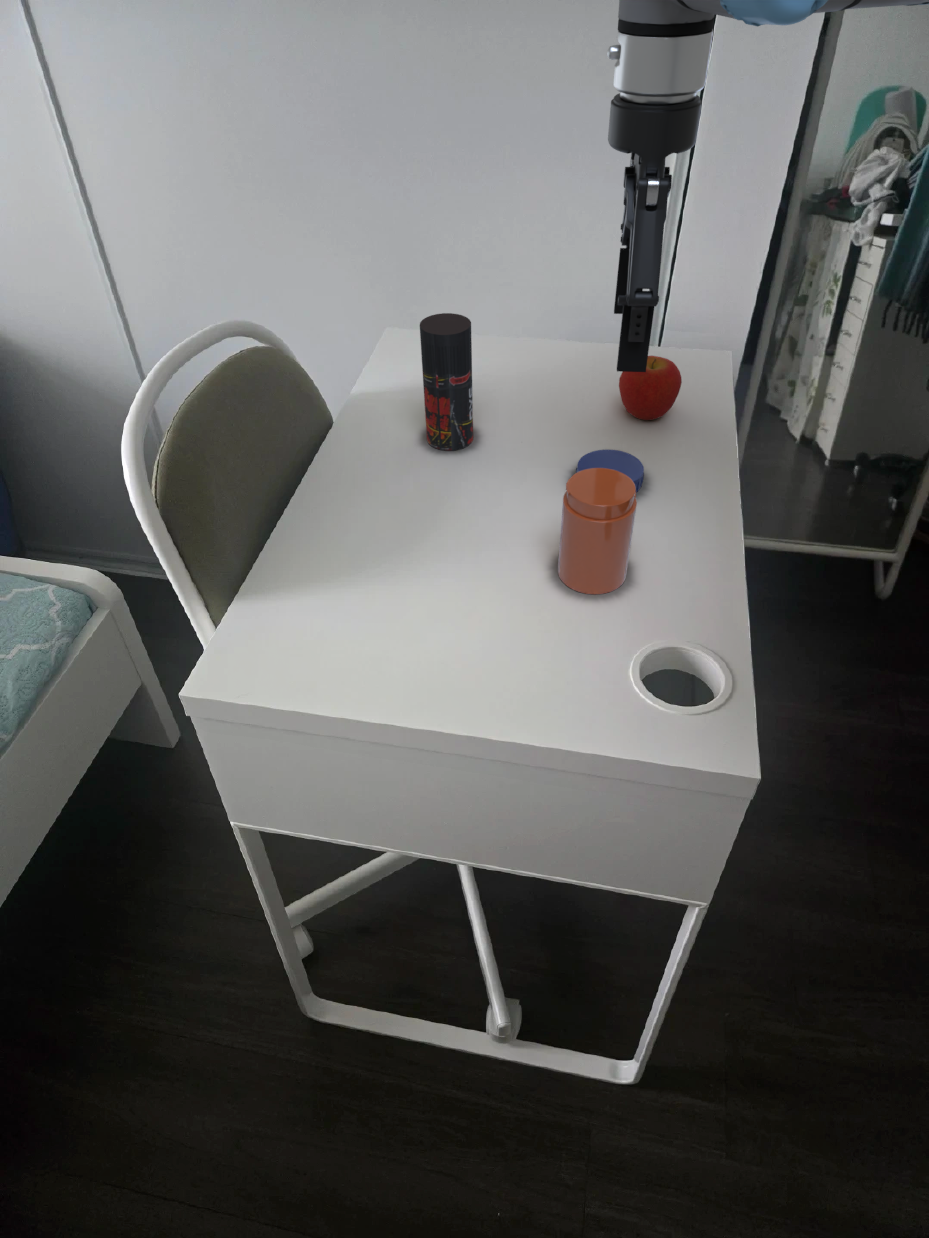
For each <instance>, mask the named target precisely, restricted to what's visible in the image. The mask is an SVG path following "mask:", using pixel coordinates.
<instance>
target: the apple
mask: <svg viewBox="0 0 929 1238" xmlns="http://www.w3.org/2000/svg"><path fill="white" fill-rule="evenodd" d="M618 379H619V380H618V389H619V390H618V391H619V394H620V400H621V403H622V405H623V406H624V408H625V410H626V412H627V413H629V414H630V415H632V416H633V417H634V418H636V419H638V420H644V421H652V420H656V419H659V418H662V417H663V416H665V415H666V414H667V413H668V412H669V411H670V410H671V408H672V407H673V406H674V404H675V402H676V400H677V398H678V396H679V393H680V392H681V391H680V390H681V386H682V383H683V381H682V374H681V371H680V369H679V368H678V366H677V365H676V363H675V362H674V361H672V360H671V359H669V358H666V357H662V356H657V355H648V359H647V366H646V372H621V374H620V376H619V378H618Z"/></svg>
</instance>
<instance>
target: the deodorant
mask: <svg viewBox="0 0 929 1238" xmlns="http://www.w3.org/2000/svg"><path fill="white" fill-rule="evenodd" d="M419 339H420V354H421V367H422V368H421V369H422V383H423V385H422V386H423V399H424V417H425V432H426V441H427V444H429V446H430V447H431V448H432V449H433V448H434V449H435V450H438V451H443V452H444V451H445V452H454V451H459V450H462V449H465V448H467V447H469V446H470V445H471V444H472V443H473V441H474V406H473V405H474V403H473V402H474V401H473V350H472V349H473V348H472V345H473V343H472V321H471V319H470V318H468V317H467V316H465V315H462V314H458V313H451V312H449V313H448V312H443V313H435V314H431V315H429V316H426V317H424V318H423V319H422V320H421V321H420V322H419Z"/></svg>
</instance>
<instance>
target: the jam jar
mask: <svg viewBox="0 0 929 1238" xmlns="http://www.w3.org/2000/svg"><path fill="white" fill-rule="evenodd" d="M637 506H638V501H637V492H636V487H635V484H634V482H633V481H632V480H631V478H629V477H628V476H627V475H625V474H623V473H621V472H619V471H616V470H612V469H607V468H590V469H585V470H582V471H579V472H577V473H576V472H575V473H573V474H572V476H571V477H570V478H568V480H567V482H566V483H565V492H564V494H563V496H562V507H561V523H560V535H559V550H558V560H557V561H558V564H557V575H558V577H559V579H560V581H561V582H562V583H563V584H564V585H565V586H566V587H568V588H569V589H570V590H573V591H575V592H578V593H582V594H585V595H603V594H608V593H611V592H613V591H616V590H617V589H619V588H620V587H621V586H622V585H623V584H624V582H626V581H625V580H626V578H627V573H628V566H629V559H630V554H631V553H630V552H631V546H632V539H633V533H634V526H635V520H636V513H637Z"/></svg>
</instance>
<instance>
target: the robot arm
mask: <svg viewBox="0 0 929 1238" xmlns="http://www.w3.org/2000/svg"><path fill="white" fill-rule="evenodd" d="M923 5H924V6H925V5H926V6H927V5H929V0H619V1H618V13H617V14H618V15H617V18H618V21H617V35H616V40H617V42H618V43H619V44H614V45H610V46H608V49H607V54H606V55H607V59H608V60H611V61H612V60H616V62H615V64H614V70H613V83H612V86H613V88H614V89H615V90H616V91H617V92H619V93H617V94H615V95H614V97H613V98H612V99H611V100H610V108H609V122H608V133H607V142H608V144H609V146H610V147H611V148H612V149H613V150H615V151H617V152H620V153H623V154H630V161H629V166H624V172H623V189H624V190H623V206H624V207H623V215H622V222H621V224H620V230H621V236H620V241H619V242H620V244H621V246H622V247H620V248H619V255H618V266H617V267H618V268H617V276H616V286H615V297H614V306H613V314H615V315H621V322H620V323H621V324H620V333H619V343H618V352H617V361H616V372H621V373H622V372H646V366H647V359H648V356H649V351H650V343H651V337H652V329H653V321H654V314H655V307H657V306H658V303H659V302H660V295H659V289H660V279H661V278H660V277H661V266H662V255H663V243H664V242H663V241H664V231H665V223H666V221H667V213H668V198H669V196H670V193H671V190H672V180H673V175H672V174H670V171H671V168H670V166H666V158H667V157H669V156H670V155H673V154H682V153H685V152H687V151H689V150H691V149H692V148H693V147H694V146H695V144H696V143H697V139H698V132H699V125H700V120H701V113H702V104H703V100H701V97H700V96H699V95H698V94H697V93H699V92H700V91H702V90H703V89H704V88H705V87H706V82H707V76H708V69H709V63H710V57H711V56H710V55H711V49H712V42H713V38H714V37H713V35H714V23H715V15H717V16H720V17H723V18H724V17H725V18H729V19H734V20H736V21H742V22H744V24H745V25H747V26H754V27H761V26H765V25H771V26H791V25H795V24H798V23H801V22H803V21H805V20H806V19H807V18H808V17H810V16H812V15H813V14H820V13H830V12H831V13H832V12H838V11H839V12H840V11H841V12H842V11H845V10H854V9H855V10H856V9H870V8H885V7H896V6H897V7H898V6H908V7H909V6H923ZM623 246H624V247H623Z"/></svg>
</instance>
